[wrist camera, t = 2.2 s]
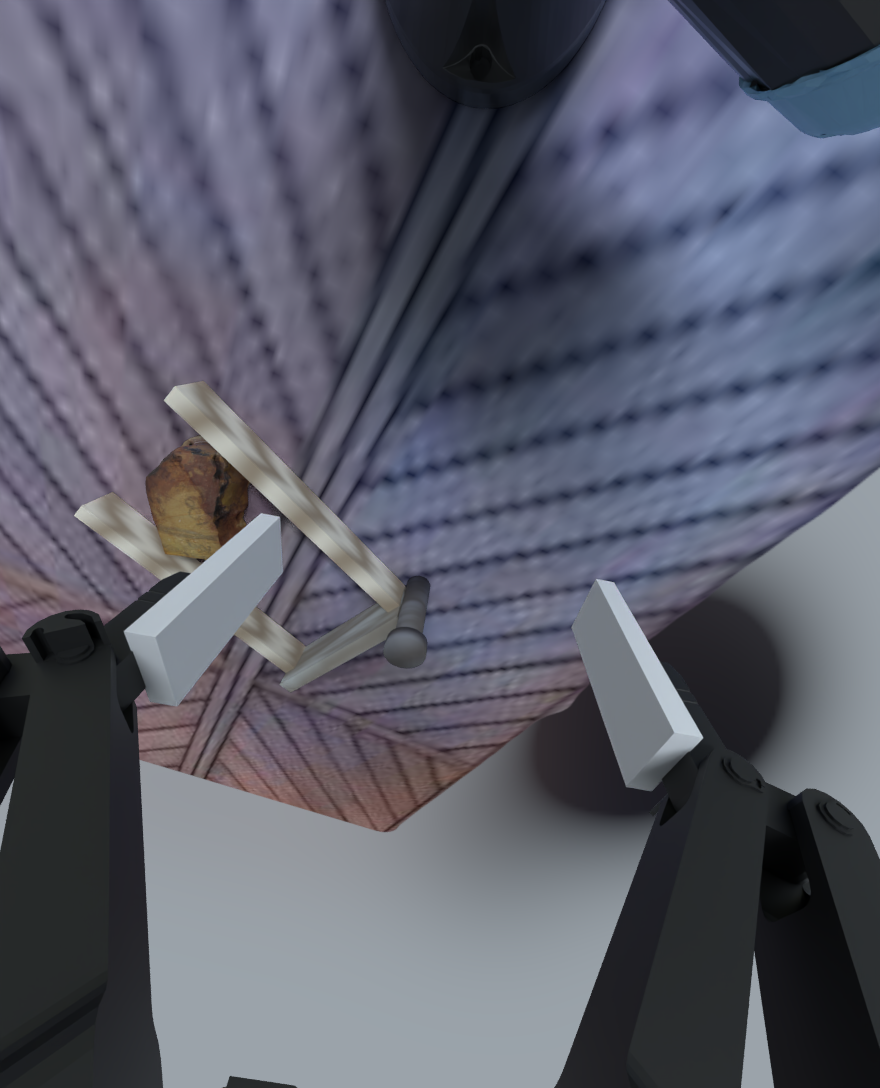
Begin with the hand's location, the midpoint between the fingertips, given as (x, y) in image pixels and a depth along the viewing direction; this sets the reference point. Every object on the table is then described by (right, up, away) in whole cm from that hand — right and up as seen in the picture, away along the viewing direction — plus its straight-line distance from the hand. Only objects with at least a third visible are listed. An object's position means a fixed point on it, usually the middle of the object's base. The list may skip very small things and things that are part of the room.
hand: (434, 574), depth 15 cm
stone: (-27, +7, +28) cm, 39 cm away
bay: (-20, +1, +30) cm, 36 cm away
